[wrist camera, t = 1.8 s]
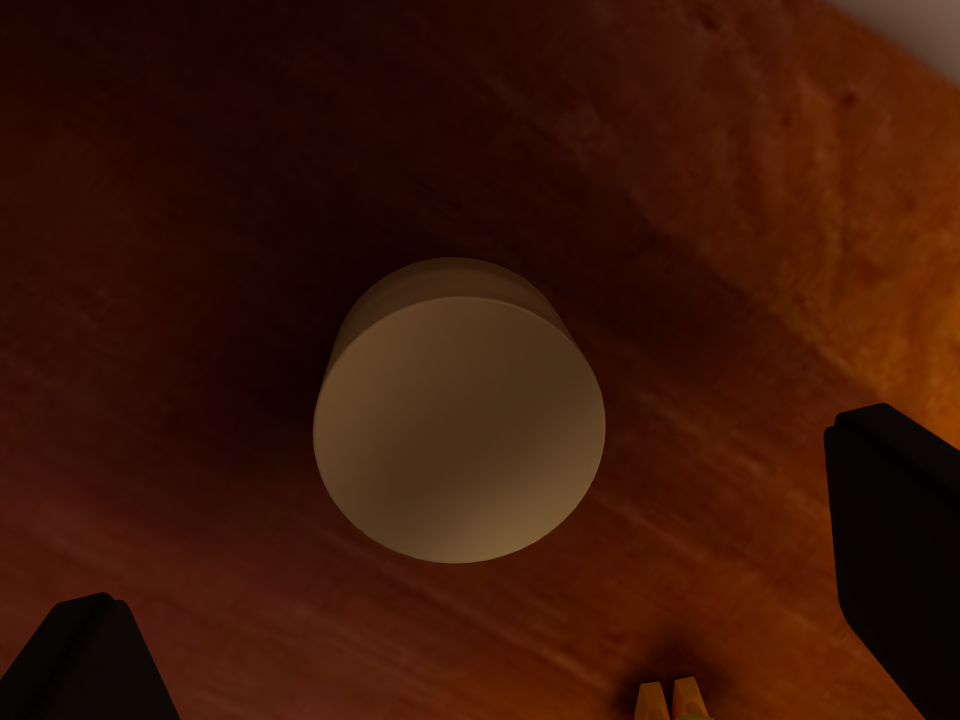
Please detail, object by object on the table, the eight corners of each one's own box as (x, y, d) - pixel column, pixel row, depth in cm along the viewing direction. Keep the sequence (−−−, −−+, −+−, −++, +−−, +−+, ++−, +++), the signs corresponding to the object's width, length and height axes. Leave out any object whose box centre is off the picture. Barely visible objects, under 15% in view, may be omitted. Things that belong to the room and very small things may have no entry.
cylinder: (278, 366, 16) (248, 429, 13) (466, 203, 16) (480, 232, 13) (441, 524, 18) (446, 612, 15) (618, 384, 17) (662, 447, 14)
